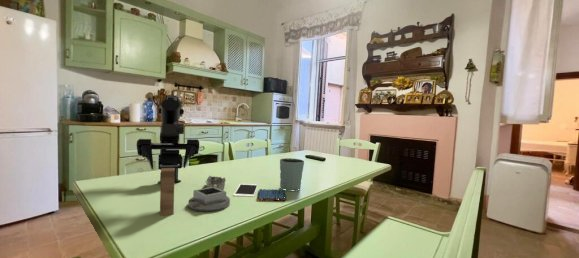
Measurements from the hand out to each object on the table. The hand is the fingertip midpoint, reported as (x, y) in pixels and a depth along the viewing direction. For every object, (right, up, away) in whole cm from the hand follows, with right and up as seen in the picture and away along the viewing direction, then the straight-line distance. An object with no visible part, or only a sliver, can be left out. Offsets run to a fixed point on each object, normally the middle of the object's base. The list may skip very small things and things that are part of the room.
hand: (168, 168), depth 81 cm
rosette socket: (+12, -13, +4) cm, 18 cm away
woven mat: (+31, -14, +15) cm, 37 cm away
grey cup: (+39, -13, +27) cm, 49 cm away
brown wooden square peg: (+2, -12, -5) cm, 13 cm away
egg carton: (+8, -12, +24) cm, 28 cm away
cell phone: (+21, -13, +22) cm, 33 cm away
